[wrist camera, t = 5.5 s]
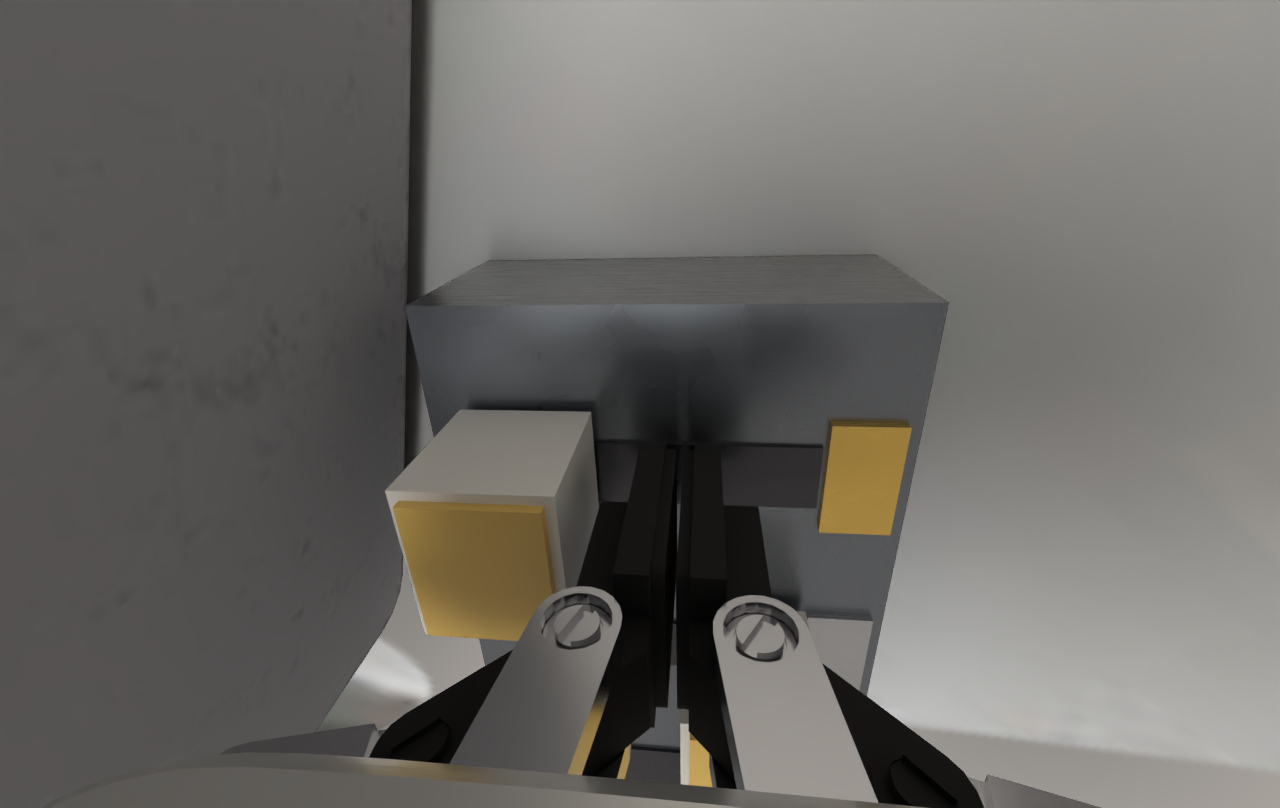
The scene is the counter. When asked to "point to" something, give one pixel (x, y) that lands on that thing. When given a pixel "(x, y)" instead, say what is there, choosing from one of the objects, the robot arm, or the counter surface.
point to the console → (718, 407)
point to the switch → (496, 518)
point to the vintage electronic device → (195, 372)
